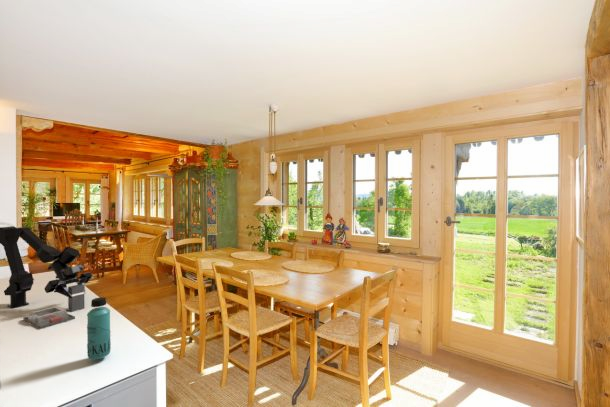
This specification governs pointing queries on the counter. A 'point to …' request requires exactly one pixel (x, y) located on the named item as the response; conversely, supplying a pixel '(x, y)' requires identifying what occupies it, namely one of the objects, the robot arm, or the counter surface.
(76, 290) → the plug block
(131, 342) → the counter surface
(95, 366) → the counter surface
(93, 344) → the beverage bottle
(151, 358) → the counter surface
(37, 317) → the grey socket base
